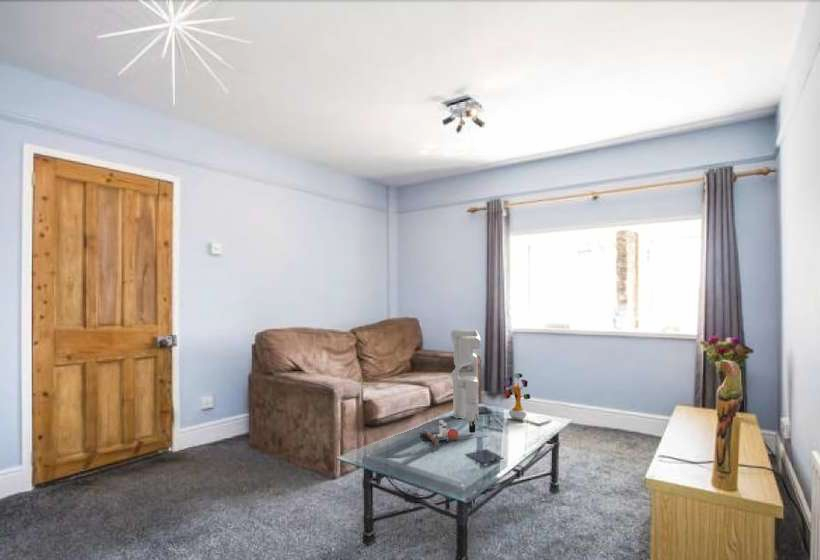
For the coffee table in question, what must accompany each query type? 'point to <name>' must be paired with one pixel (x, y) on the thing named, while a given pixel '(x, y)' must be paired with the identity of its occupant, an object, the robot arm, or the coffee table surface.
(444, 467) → the coffee table surface
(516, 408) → the decorative sculpture
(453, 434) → the ball
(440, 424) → the pin
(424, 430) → the back wall
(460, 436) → the lane
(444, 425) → the pin
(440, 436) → the pin front
